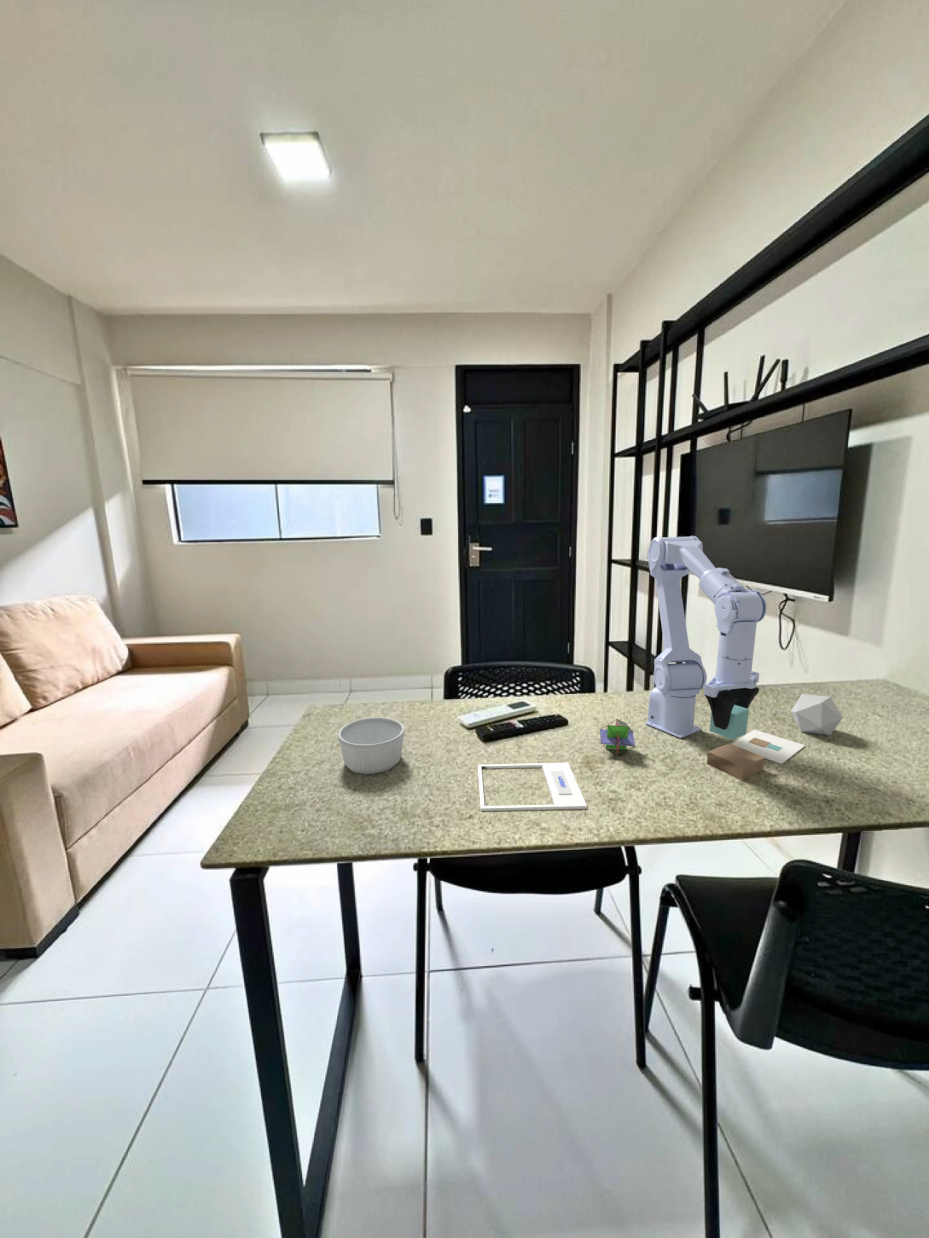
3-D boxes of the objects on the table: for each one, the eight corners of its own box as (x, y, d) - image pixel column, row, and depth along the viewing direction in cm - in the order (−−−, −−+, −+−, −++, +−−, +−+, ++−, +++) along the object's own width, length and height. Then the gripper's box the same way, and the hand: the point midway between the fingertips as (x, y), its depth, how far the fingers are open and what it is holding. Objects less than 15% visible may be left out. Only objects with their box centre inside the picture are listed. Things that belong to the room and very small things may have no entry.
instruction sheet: (728, 745, 102) (729, 744, 102) (754, 730, 109) (754, 729, 109) (781, 764, 94) (781, 762, 94) (805, 746, 101) (805, 744, 101)
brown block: (706, 765, 95) (708, 751, 94) (728, 756, 98) (729, 743, 98) (741, 781, 89) (743, 767, 88) (763, 771, 92) (764, 757, 92)
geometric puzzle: (637, 755, 94) (636, 715, 98) (601, 752, 96) (601, 713, 99) (632, 761, 101) (631, 723, 104) (598, 758, 102) (598, 721, 106)
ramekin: (415, 750, 103) (413, 719, 102) (389, 782, 91) (387, 748, 89) (359, 743, 107) (357, 714, 105) (327, 773, 94) (324, 741, 93)
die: (834, 729, 110) (807, 689, 113) (860, 726, 102) (831, 683, 105) (800, 744, 110) (775, 703, 113) (824, 742, 101) (796, 698, 105)
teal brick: (709, 731, 93) (711, 706, 92) (722, 725, 95) (725, 701, 94) (732, 739, 89) (735, 714, 88) (745, 733, 91) (748, 709, 90)
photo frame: (587, 804, 81) (480, 807, 81) (586, 810, 81) (480, 813, 81) (568, 761, 96) (477, 763, 95) (568, 766, 96) (477, 768, 96)
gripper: (733, 668, 82) (726, 741, 85) (778, 654, 89) (770, 722, 92) (695, 658, 88) (690, 727, 91) (740, 646, 95) (734, 710, 98)
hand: (728, 724), depth 92 cm, fingers closed on teal brick, 4 cm apart
